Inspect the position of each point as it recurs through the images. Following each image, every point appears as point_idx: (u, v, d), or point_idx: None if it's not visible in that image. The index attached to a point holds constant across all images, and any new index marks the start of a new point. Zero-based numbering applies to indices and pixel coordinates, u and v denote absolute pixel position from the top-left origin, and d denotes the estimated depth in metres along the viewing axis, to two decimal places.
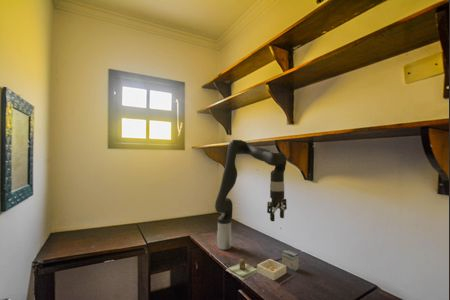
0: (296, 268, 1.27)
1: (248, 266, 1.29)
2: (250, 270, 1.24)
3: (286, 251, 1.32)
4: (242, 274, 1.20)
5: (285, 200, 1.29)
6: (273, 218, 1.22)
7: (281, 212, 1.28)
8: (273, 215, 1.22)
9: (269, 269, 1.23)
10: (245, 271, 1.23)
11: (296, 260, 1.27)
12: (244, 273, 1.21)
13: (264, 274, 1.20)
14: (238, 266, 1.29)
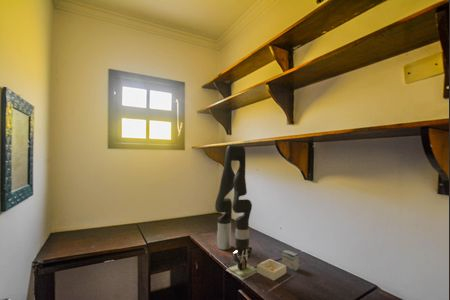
0: (296, 268, 1.27)
1: (248, 266, 1.29)
2: (250, 270, 1.24)
3: (286, 251, 1.32)
4: (242, 274, 1.20)
5: (250, 248, 1.29)
6: (240, 267, 1.24)
7: None
8: (240, 264, 1.24)
9: (269, 269, 1.23)
10: (245, 271, 1.23)
11: (296, 260, 1.27)
12: (244, 273, 1.21)
13: (264, 274, 1.20)
14: None
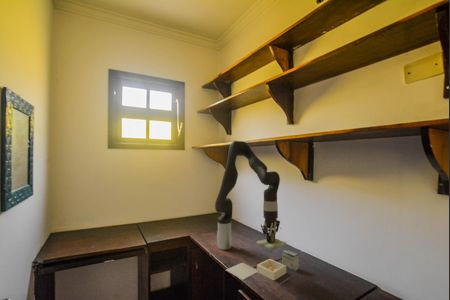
0: (296, 268, 1.27)
1: (276, 240, 1.26)
2: (279, 243, 1.22)
3: (286, 251, 1.32)
4: (272, 246, 1.18)
5: (279, 222, 1.27)
6: (269, 239, 1.22)
7: None
8: (269, 236, 1.22)
9: (269, 269, 1.23)
10: (274, 244, 1.21)
11: (296, 260, 1.27)
12: (274, 245, 1.19)
13: (264, 274, 1.20)
14: (266, 240, 1.26)
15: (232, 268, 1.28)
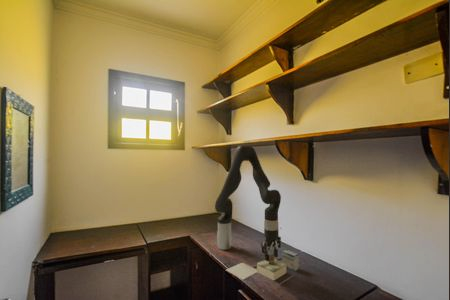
0: (296, 268, 1.27)
1: (277, 261, 1.26)
2: (280, 265, 1.22)
3: (286, 251, 1.32)
4: (273, 269, 1.18)
5: (279, 238, 1.27)
6: (268, 258, 1.21)
7: (275, 251, 1.26)
8: (268, 255, 1.21)
9: None
10: (275, 266, 1.21)
11: (296, 260, 1.27)
12: (274, 268, 1.19)
13: (264, 274, 1.20)
14: (267, 261, 1.26)
15: (232, 268, 1.28)
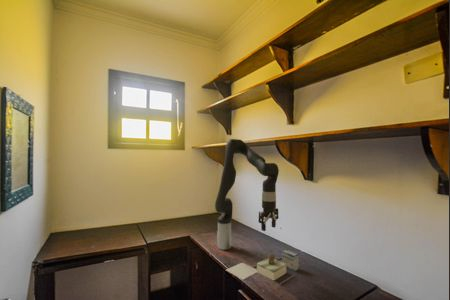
0: (296, 268, 1.27)
1: (277, 261, 1.26)
2: (280, 265, 1.22)
3: (286, 251, 1.32)
4: (273, 269, 1.18)
5: (277, 210, 1.30)
6: (264, 228, 1.23)
7: (273, 221, 1.30)
8: (264, 225, 1.23)
9: None
10: (275, 266, 1.21)
11: (296, 260, 1.27)
12: (274, 268, 1.19)
13: (264, 274, 1.20)
14: (267, 261, 1.26)
15: (232, 268, 1.28)
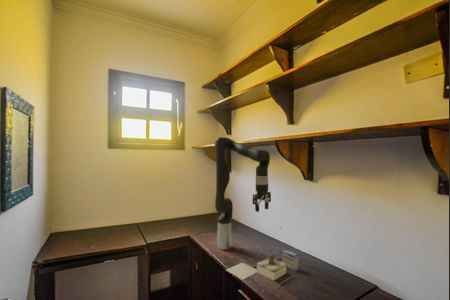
0: (296, 268, 1.27)
1: (277, 261, 1.26)
2: (280, 265, 1.22)
3: (286, 251, 1.32)
4: (273, 269, 1.18)
5: (269, 193, 1.42)
6: (258, 209, 1.35)
7: (266, 204, 1.42)
8: (258, 206, 1.36)
9: None
10: (275, 266, 1.21)
11: (296, 260, 1.27)
12: (274, 268, 1.19)
13: (264, 274, 1.20)
14: (267, 261, 1.26)
15: (232, 268, 1.28)
